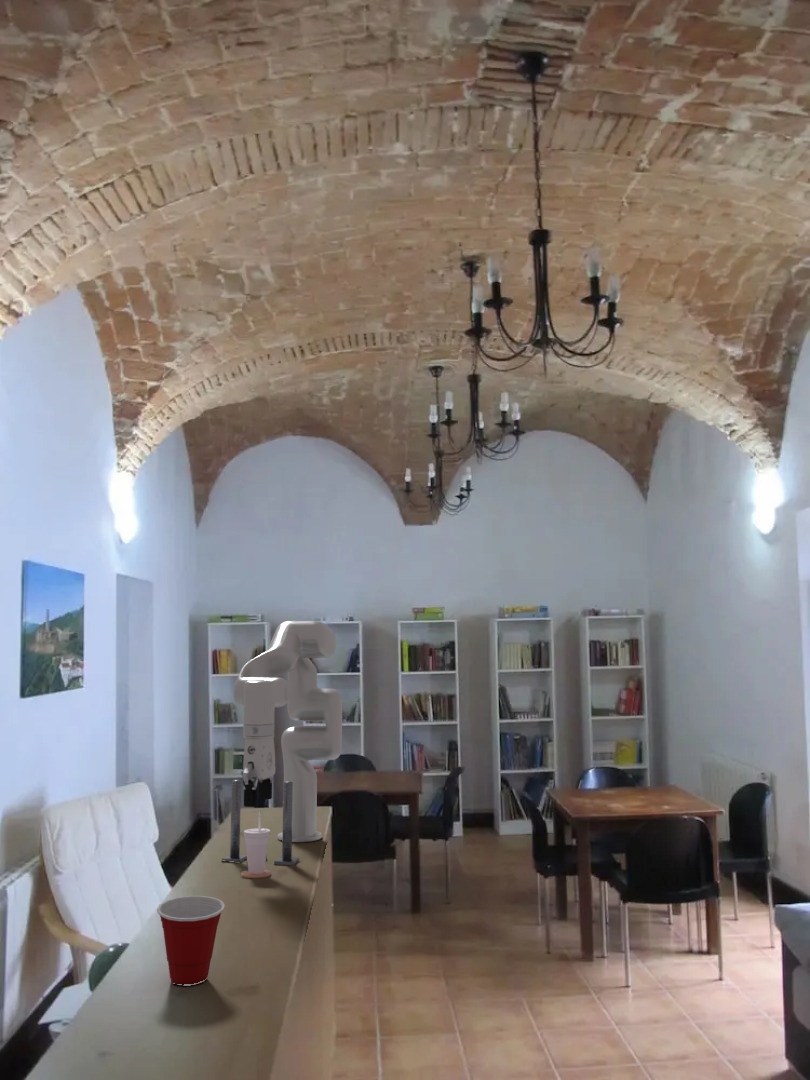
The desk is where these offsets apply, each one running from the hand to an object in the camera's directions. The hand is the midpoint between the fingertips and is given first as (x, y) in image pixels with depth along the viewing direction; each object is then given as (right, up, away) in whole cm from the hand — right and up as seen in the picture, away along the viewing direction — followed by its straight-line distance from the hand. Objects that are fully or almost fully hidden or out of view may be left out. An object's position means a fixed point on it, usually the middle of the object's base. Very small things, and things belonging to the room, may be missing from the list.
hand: (258, 802), depth 224 cm
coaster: (0, -17, -3) cm, 17 cm away
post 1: (-8, -19, +13) cm, 24 cm away
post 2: (+6, -18, +10) cm, 22 cm away
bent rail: (-1, -18, +8) cm, 19 cm away
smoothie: (0, -16, -2) cm, 16 cm away
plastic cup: (+1, -8, -74) cm, 74 cm away
